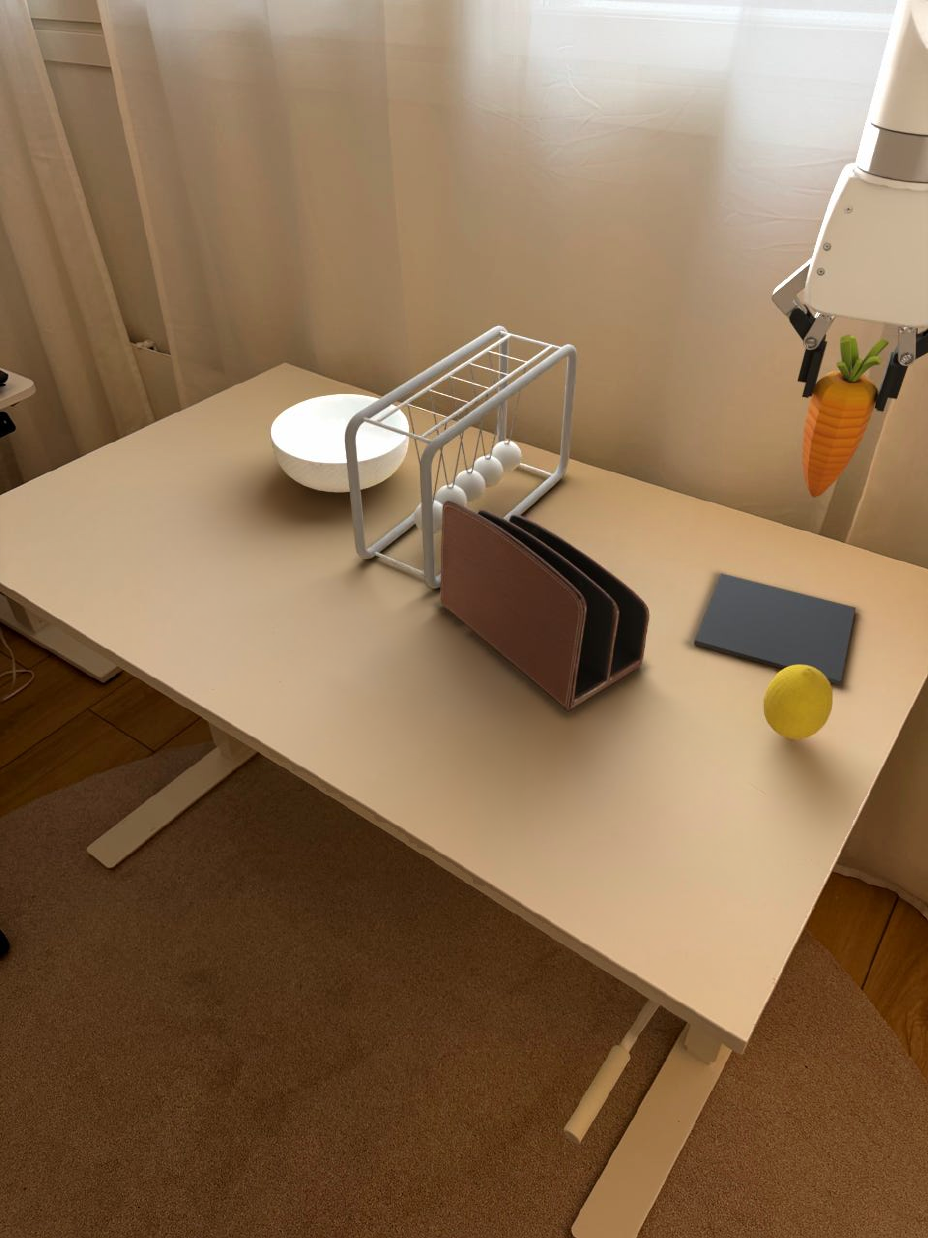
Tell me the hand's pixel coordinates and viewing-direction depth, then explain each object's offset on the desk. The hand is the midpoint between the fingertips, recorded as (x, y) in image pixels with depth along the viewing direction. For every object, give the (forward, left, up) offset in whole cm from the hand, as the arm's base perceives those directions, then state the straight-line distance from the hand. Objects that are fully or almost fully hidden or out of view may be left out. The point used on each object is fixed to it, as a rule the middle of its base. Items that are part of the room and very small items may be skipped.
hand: (844, 395), depth 73 cm
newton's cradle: (+37, -7, -27) cm, 46 cm away
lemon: (-4, +13, -27) cm, 30 cm away
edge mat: (0, -1, -26) cm, 26 cm away
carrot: (0, 0, -10) cm, 10 cm away
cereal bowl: (+55, -8, -27) cm, 62 cm away
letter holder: (+22, +10, -27) cm, 36 cm away
